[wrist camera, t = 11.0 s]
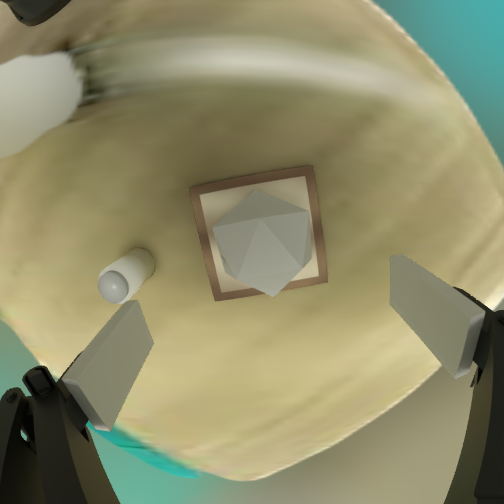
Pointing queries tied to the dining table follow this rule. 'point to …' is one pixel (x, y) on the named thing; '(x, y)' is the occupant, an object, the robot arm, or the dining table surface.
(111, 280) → the shaker
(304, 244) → the die
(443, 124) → the dining table surface
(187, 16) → the dining table surface
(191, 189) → the board
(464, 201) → the dining table surface
